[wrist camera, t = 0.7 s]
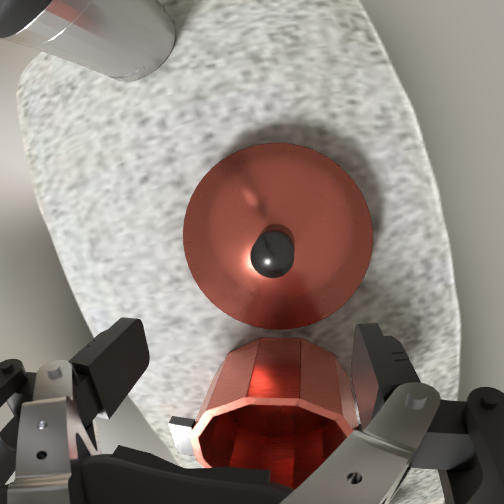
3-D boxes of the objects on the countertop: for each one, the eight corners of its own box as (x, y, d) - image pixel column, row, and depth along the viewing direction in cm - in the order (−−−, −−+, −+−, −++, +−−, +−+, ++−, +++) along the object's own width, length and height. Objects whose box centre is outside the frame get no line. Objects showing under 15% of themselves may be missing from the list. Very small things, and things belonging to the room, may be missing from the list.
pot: (187, 334, 34) (153, 387, 25) (375, 335, 31) (398, 393, 21) (205, 430, 38) (185, 483, 28) (357, 434, 35) (365, 491, 25)
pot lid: (186, 152, 29) (152, 147, 22) (365, 145, 27) (388, 136, 19) (201, 315, 33) (176, 352, 26) (361, 315, 31) (377, 355, 23)
